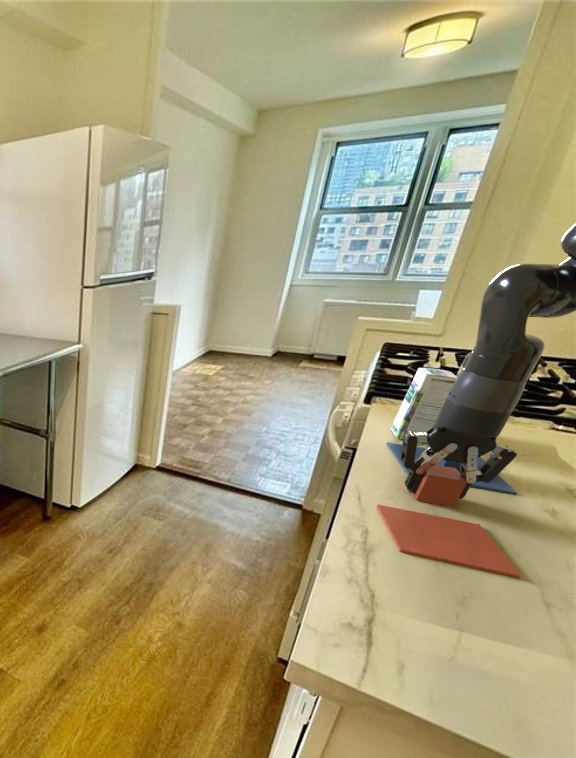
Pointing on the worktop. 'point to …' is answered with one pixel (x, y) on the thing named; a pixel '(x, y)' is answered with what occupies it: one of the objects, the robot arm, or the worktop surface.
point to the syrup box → (423, 401)
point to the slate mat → (494, 485)
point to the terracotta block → (441, 486)
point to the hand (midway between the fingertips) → (431, 494)
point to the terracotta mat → (445, 540)
